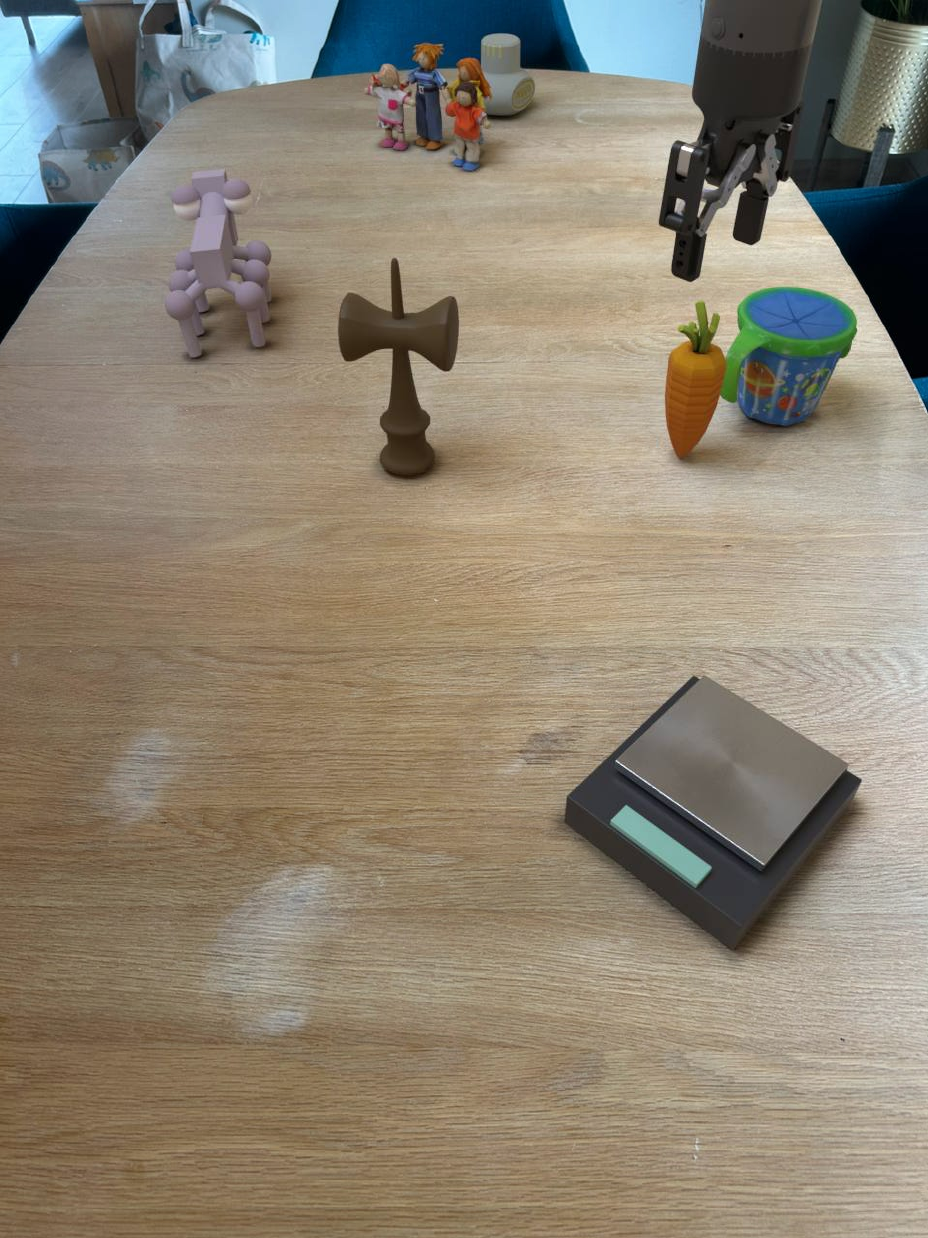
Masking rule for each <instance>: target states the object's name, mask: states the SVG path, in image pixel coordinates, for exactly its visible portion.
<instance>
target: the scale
mask: <svg viewBox="0 0 928 1238" xmlns="http://www.w3.org/2000/svg"><path fill="white" fill-rule="evenodd" d="M700 679H701V678H699V677H697V676H695V675H692V676H691V677H690V679H688V680H687V681H686V682H685V683H684V684H683V685H682V686H681V687H680V688H679V689H678V690H677V691H675V692H674V693H673V694H672V695H671V696H670V697H669V698H668V699H667V700H666V701H665V702H664V703H663V704H662V705H661V706H660V707H659V708H658V709H657V710H655V712H653V714H651V715H650V716H649V717H648V718H647V719H646V720H645V721H644V722H643V723H642V724H640V726H639V727H637V729H636V730H635V731H634V732H633V733H631V734H630V735H629V737H627V738H626V739H625V740H624V741H623V742H622V743H621V744H620V745H619V746H618V747H617V748H615V750H613V752H611V754H609V756H607V758H606V759H604V760H603V761H602V762H601V763H600V764H599V765H598V766H597V767H596V768H595V769H594V770H593V771H591V772H590V773H589V774H588V775H587V776H586V777H585V778H584V779H583V780H582V781H581V782H580V783H579V784H578V785H577V786H576V787H575V788H574V789H573V790H572V791H570V793H568V794H567V796H566V802H565V811H564V812H565V813H564V818H563V819H564V820H563V822H564V823H565V824H566V825H567V826H568V827H570V828H571V829H573V830H574V831H575V832H577V833H578V834H579V835H581V836H582V837H583V838H584V839H586V840H587V841H588V842H589V843H591V844H592V845H593V846H595V847H596V848H598V849H599V850H600V851H601V852H603V853H604V854H605V855H607V856H608V857H609V858H610V859H612V860H613V861H614V862H616V863H617V864H619V865H620V866H621V867H622V868H623V869H625V870H626V871H627V872H628V873H630V874H631V875H632V876H634V877H635V878H637V879H638V880H639V881H640V882H641V883H643V884H644V885H646V886H647V887H649V889H651V890H653V892H655V893H656V894H658V895H659V896H661V898H663V899H664V900H665V901H667V902H668V903H670V904H671V905H672V906H673V907H675V908H676V909H677V910H678V911H680V912H681V913H682V914H684V915H685V916H686V917H687V918H689V919H690V920H692V921H693V922H695V923H696V925H698V926H700V927H701V928H702V929H704V930H705V931H706V932H707V933H709V934H710V935H711V936H713V937H714V938H715V939H716V940H718V941H719V942H720V943H722V944H723V945H724V946H726V947H727V948H728V949H729V950H730V951H734V950H735V949H736V947H737V946H738V945H739V944H740V943H741V941H742V940H743V939H744V937H745V936H746V935H747V934H748V932H750V930H751V929H752V927H753V926H755V924H756V923H757V921H758V920H759V919H760V918H761V917H762V915H763V914H764V913H765V912H766V911H767V909H768V908H769V907H770V905H772V903H773V902H774V900H775V899H776V898H777V897H778V896H779V894H780V893H781V892H782V891H783V890H784V888H785V887H786V886H787V884H788V883H789V882H790V881H791V879H793V877H794V876H795V875H796V873H797V872H798V871H799V869H800V868H801V867H802V866H803V865H804V864H805V862H806V861H807V860H808V859H809V858H810V856H811V855H812V853H814V851H815V850H816V849H817V847H818V846H819V845H820V844H821V843H822V841H823V840H824V839H825V838H826V836H827V835H828V834H829V833H830V831H831V830H832V829H833V828H834V827H835V825H836V824H837V823H838V822H839V820H840V819H841V818H842V817H843V816H844V814H845V813H846V812H847V811H848V810H849V808H850V807H851V805H852V803H853V801H854V799H855V796H856V794H857V793H858V791H859V788H860V786H861V784H862V782H863V779H862V778H860V777H859V776H857V775H855V774H854V773H852V772H850V771H848V770H847V771H846V772H845V773H844V775H843V776H842V777H841V778H840V779H839V781H838V782H837V783H836V784H835V785H834V786H833V788H832V789H831V790H830V791H829V792H828V794H827V795H826V796H825V797H824V798H823V800H822V801H821V802H820V803H819V804H818V806H817V807H816V808H815V809H814V810H813V812H812V813H811V814H810V815H809V816H808V818H807V819H806V820H805V821H804V822H803V823H802V825H801V826H800V827H799V828H798V829H797V831H796V832H795V833H794V834H793V835H792V837H791V838H790V839H789V840H788V841H787V843H786V844H785V845H784V846H783V847H782V849H781V850H780V851H779V852H778V853H777V855H776V856H775V857H774V858H773V859H772V860H771V862H770V863H769V864H768V865H767V866H766V868H765V869H764V870H763V871H762V872H761V871H759V870H758V869H757V868H755V867H754V866H752V865H751V864H750V863H748V862H747V861H745V860H744V859H742V858H741V857H740V856H738V855H737V854H735V853H734V852H733V851H731V850H730V849H728V848H727V847H726V846H724V845H723V844H721V843H720V842H718V841H717V840H716V839H714V838H713V837H711V836H710V835H709V834H707V833H706V832H704V831H703V830H701V829H700V828H699V827H697V826H696V825H694V824H693V823H692V822H690V821H689V820H687V819H686V818H685V817H683V816H682V815H680V814H679V813H677V812H676V811H675V810H673V809H672V808H670V807H669V806H668V805H666V804H665V803H663V802H662V801H660V800H659V799H658V798H656V797H655V796H653V795H652V794H651V793H649V792H648V791H646V790H645V789H644V788H642V787H641V786H639V785H638V784H636V783H635V782H634V781H632V780H631V779H629V778H628V777H627V776H625V775H624V774H622V773H621V772H619V771H618V770H617V769H615V768H614V766H615V761H616V760H617V759H618V758H619V757H620V756H621V755H622V754H623V753H624V752H625V751H626V750H627V749H628V748H629V747H630V746H631V745H632V744H633V743H634V742H635V741H636V740H637V739H638V738H639V737H640V736H641V735H643V734H644V733H645V732H646V731H647V730H648V729H649V728H650V727H651V726H652V725H653V724H654V723H655V722H656V721H657V720H658V719H659V718H660V717H661V716H662V715H663V714H664V713H665V712H666V711H667V710H669V709H670V708H671V707H672V706H673V705H674V704H675V703H676V702H677V701H678V700H679V699H680V698H681V697H682V696H683V695H684V694H685V693H686V692H687V691H688V690H689V689H690V688H691V687H692V686H693V685H694V684H696V683H697V682H698V681H699V680H700Z"/></svg>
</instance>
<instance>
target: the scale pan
mask: <svg viewBox="0 0 928 1238" xmlns="http://www.w3.org/2000/svg"><path fill="white" fill-rule="evenodd" d="M699 679H700V680H699V681H698V682H697V683H696V684H694V685H693V686H692V687H691V688H690V689H689V690H688V691H687V692H686V693H685V694H684V695H683V696H682V697H681V698H680V699H679V700H678V701H677V702H676V703H675V704H674V705H673V706H672V707H671V708H670V709H669V710H667V711H666V712H665V713H664V714H663V715H662V716H661V717H660V718H659V719H658V720H657V721H656V722H655V723H654V724H653V725H652V726H651V727H650V728H649V729H648V730H647V731H646V732H645V733H644V734H643V735H641V736H640V737H639V738H638V739H637V740H636V741H635V742H634V743H633V744H632V745H631V746H630V747H629V748H628V749H627V750H626V751H625V752H624V753H623V754H622V755H621V756H620V757H619V758H618V759H617V760H616V761H615V766H614V768H615V769H617V770H618V771H619V772H621V773H622V774H624V775H625V776H627V777H628V778H629V779H631V780H632V781H634V782H635V783H636V784H638V785H639V786H641V787H642V788H644V789H645V790H646V791H648V792H649V793H651V794H652V795H653V796H655V797H656V798H658V799H659V800H660V801H662V802H663V803H665V804H666V805H668V806H669V807H670V808H672V809H673V810H675V811H676V812H677V813H679V814H680V815H682V816H683V817H685V818H686V819H687V820H689V821H690V822H692V823H693V824H694V825H696V826H697V827H699V828H700V829H701V830H703V831H704V832H706V833H707V834H709V835H710V836H711V837H713V838H714V839H716V840H717V841H718V842H720V843H721V844H723V845H724V846H726V847H727V848H728V849H730V850H731V851H733V852H734V853H735V854H737V855H738V856H740V857H741V858H742V859H744V860H745V861H747V862H748V863H750V864H751V865H752V866H754V867H755V868H757V869H758V870H759V871H761V872H762V871H763V870H764V869H765V868H766V866H767V865H768V864H769V863H770V862H771V860H772V859H773V858H774V857H775V856H776V855H777V853H778V852H779V851H780V850H781V849H782V847H783V846H784V845H785V844H786V843H787V841H788V840H789V839H790V838H791V837H792V835H793V834H794V833H795V832H796V831H797V829H798V828H799V827H800V826H801V825H802V823H803V822H804V821H805V820H806V819H807V818H808V816H809V815H810V814H811V813H812V812H813V810H814V809H815V808H816V807H817V806H818V804H819V803H820V802H821V801H822V800H823V798H824V797H825V796H826V795H827V794H828V792H829V791H830V790H831V789H832V788H833V786H834V785H835V784H836V783H837V782H838V781H839V779H840V778H841V777H842V776H843V775H844V773H845V772H846V771H848V768H849V766H850V763H848V762H846V761H845V760H843V759H841V758H840V757H839V756H837V755H836V754H834V753H832V752H830V751H829V750H827V749H825V748H824V747H823V746H821V745H819V744H817V743H815V742H814V741H812V740H811V739H809V738H808V737H806V736H804V735H802V734H801V733H800V732H798V731H796V730H795V729H793V728H791V727H789V726H788V725H786V724H785V723H783V722H782V721H780V720H778V719H777V718H775V717H774V716H772V715H771V714H768V713H767V712H765V711H763V710H762V709H761V708H760V707H759V708H758V707H757V706H756V705H754V704H753V703H750V702H749V701H748V700H746V699H744V698H743V697H741V696H740V695H738V694H737V693H734V692H733V691H731V690H730V689H729V688H727V687H725V686H723V685H721V684H720V683H718V682H717V681H715V680H714V679H712V678H710V677H709V676H707V675H703V676H702V677H700V678H699Z"/></svg>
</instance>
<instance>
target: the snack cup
mask: <svg viewBox="0 0 928 1238" xmlns="http://www.w3.org/2000/svg"><path fill="white" fill-rule="evenodd" d="M736 312H737V326H738V327H737V328H738V330H739V332H738V334H737V335H736V337H735V339H734V340H733V341H732V344H731V345H730V347H729V349H728V351H727V353H726V355H725V359H726V364H727V365H726V372H725V376H724V380H723V385H722V389H721V393H720V396H719V397H721V398H722V399H723V400H725V401H726V402H727V403H729V404H735V403H736V402H737V403H738V405H739V407H740V408H741V410H742V411H743V412H744V414H745V416H746V417H748V418H751V419H755V420H757V421H760V422H761V423H766V424H769V425H775V426H776V425H777V426H778V425H780V426H782V427H789V426H791V425H793V424H798V423H802V422H803V421H805V420H806V419H808V418H809V417H810V416H811V415H813V414H814V411H815V410H816V408H817V407H818V404H819V402H820V400H821V398H822V396H823V394H824V392H825V390H826V388H827V387H828V384H829V382H830V380H831V377H832V375H833V374H834V371H835V370H836V367H837V364H838V363H839V361H840V359H845V358H847V357H848V355H849V353H850V351H851V349H852V344H853V340H854V339H855V338H856V336H857V333H858V327H857V324H858V319H857V316H856V313H855V312H854V309H852V308H851V307H850V306H849V305H848V304H847V303H845V302H844V301H842V300H840V299H839V298H836V297H835V296H833V295H830V294H828V293H825V292H822V291H820V290H815V289H811V288H806V287H799V286H775V287H766V288H763V289H759V290H756V291H753V292H752V293H750V294H748V295H747V296H745V297H744V298H743V300H742V301H741V302H740V303H739V304H738V306H737V310H736Z"/></svg>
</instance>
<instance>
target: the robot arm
mask: <svg viewBox="0 0 928 1238" xmlns="http://www.w3.org/2000/svg"><path fill="white" fill-rule="evenodd" d="M822 3H823V0H705V1H704V7H703V12H702V13H703V14H702V20H701V26H700V34H699V40H698V41H699V42H698V48H697V56H696V62H695V69H694V75H693V81H692V89H691V98H692V101H693V103H694V104H695V106H697V108H698V109H699V110H700V112H701V113H702V116H703V121H702V125H701V128H700V131H699V134H698V136H697V139H696V141H693V142H691V143H688V142H686V141H683V140H680V139H677V140H674V142H673V143H672V145H671V147H670V152H669V158H668V162H667V169H666V175H665V181H664V187H663V193H662V199H661V204H660V211H659V216H658V226H659V227H662V228H665V229H667V230H670V231H673V232H675V239H674V246H673V252H672V259H671V265H670V271H671V274H672V275H673V276H674V277H676V278H678V279H680V280H683V281H685V282H688V283H693V282H694V281H696V280H697V279H699V278H700V277H701V272H702V266H703V260H704V255H705V248H706V244H707V237H708V233H707V232H708V230H709V227H710V225H711V223H712V221H713V219H714V217H715V215H716V214H717V211H718V210H719V209H723V208H725V207H726V206H727V204H728V202H729V200H730V199H731V197H732V195H733V192H734V190H735V189H737V188H738V186H739V185H741V186H742V188H743V189H745V190H743V191H741V192H740V193H739V197H738V202H737V207H736V212H735V218H734V224H733V230H732V237H733V239H734V240H735V241H737V242H739V243H742V244H744V245H748V246H754V245H756V244H758V243H759V242H760V241H761V238H762V233H763V229H764V224H765V221H766V215H767V210H768V207H769V202H770V201H769V200H770V198H771V197H773V196H774V195H775V193H776V192H777V189H778V186H779V185H778V184H779V182H783V183H786V182H788V180H789V178H790V176H791V174H792V169H793V164H794V159H795V153H796V150H797V144H798V139H799V134H800V129H801V123H802V119H803V113H804V107H805V103H804V101H802V100H801V99H802V94H803V89H804V85H805V80H806V76H807V75H806V74H807V71H808V68H809V67H808V66H809V62H810V58H811V53H812V49H813V43H814V39H815V34H816V31H817V25H818V21H819V16H820V11H821V7H822ZM776 150H779V151H780V152H781V156H780V161H778V156H777V152H776ZM705 183H706V184H707V185H710V186H713V187H717V188H716V189H711V188H708V187H706V186H704V185H705ZM678 200H680V201H679V204H678V206H677V201H678ZM701 202H702V203H704V206H703V208H702V210H701V212H700V214H699V210H700V206H701ZM676 206H677V208H676Z"/></svg>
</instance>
